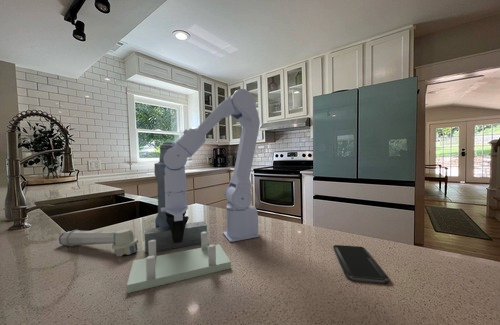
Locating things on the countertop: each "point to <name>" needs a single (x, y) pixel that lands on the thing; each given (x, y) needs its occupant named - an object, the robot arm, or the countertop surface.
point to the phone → (359, 265)
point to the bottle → (161, 185)
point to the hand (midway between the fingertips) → (177, 239)
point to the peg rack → (176, 265)
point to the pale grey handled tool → (102, 240)
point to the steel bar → (166, 241)
